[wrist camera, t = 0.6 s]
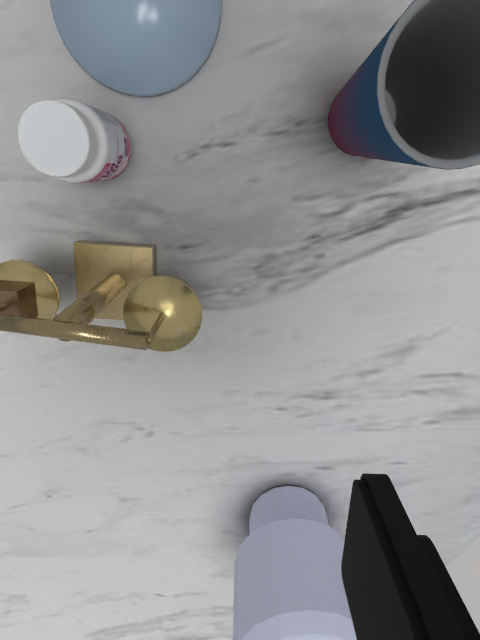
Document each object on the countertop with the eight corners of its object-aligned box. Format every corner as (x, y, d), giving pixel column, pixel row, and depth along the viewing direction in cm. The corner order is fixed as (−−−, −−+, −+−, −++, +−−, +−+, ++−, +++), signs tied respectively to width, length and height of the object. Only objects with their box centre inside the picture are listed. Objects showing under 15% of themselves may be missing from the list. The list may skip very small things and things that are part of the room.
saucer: (48, -107, 27) (41, -117, 26) (224, -94, 27) (224, -103, 26) (62, 91, 30) (56, 89, 29) (217, 101, 30) (216, 99, 30)
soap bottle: (285, 567, 45) (328, 973, 22) (214, 513, 43) (181, 904, 20) (360, 512, 43) (493, 906, 20) (289, 451, 40) (349, 818, 18)
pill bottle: (118, 192, 33) (79, 199, 25) (59, 162, 32) (-2, 160, 24) (142, 130, 31) (108, 118, 23) (80, 98, 30) (23, 74, 23)
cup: (304, 157, 32) (354, 147, 18) (331, 53, 29) (413, -53, 15) (391, 178, 32) (508, 186, 18) (425, 78, 30) (588, -2, 16)
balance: (22, 237, 34) (-102, 275, 22) (212, 248, 34) (194, 293, 22) (29, 309, 36) (-80, 381, 24) (209, 319, 36) (192, 396, 24)
